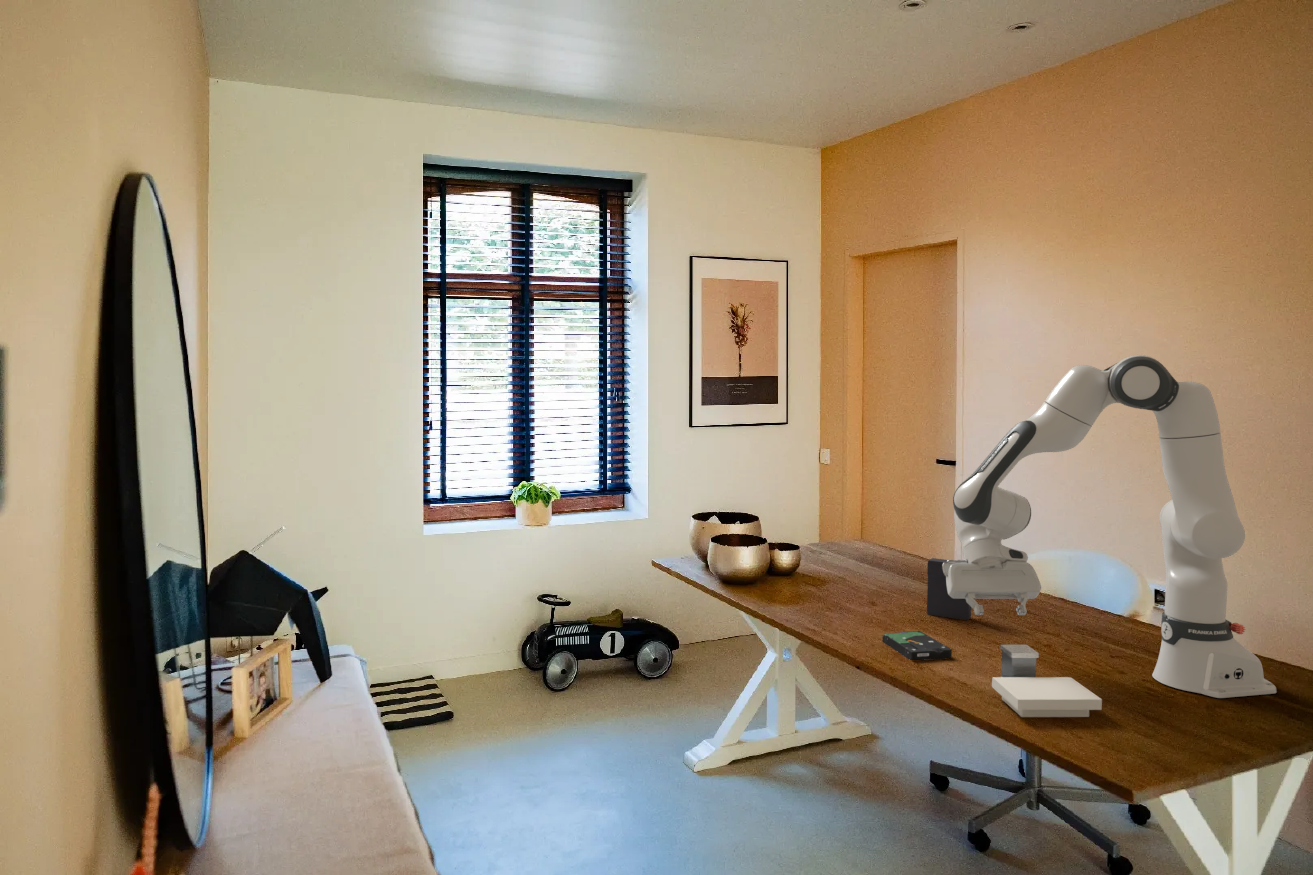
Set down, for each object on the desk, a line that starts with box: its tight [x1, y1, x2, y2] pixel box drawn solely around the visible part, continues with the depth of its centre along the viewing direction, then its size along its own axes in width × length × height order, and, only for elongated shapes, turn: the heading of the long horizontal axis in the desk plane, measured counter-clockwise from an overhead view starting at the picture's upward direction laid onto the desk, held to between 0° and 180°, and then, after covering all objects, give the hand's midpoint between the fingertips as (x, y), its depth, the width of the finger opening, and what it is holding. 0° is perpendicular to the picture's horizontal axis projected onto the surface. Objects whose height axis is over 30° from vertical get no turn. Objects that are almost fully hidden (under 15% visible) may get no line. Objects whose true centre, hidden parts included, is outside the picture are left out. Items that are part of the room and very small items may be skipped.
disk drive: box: [881, 630, 953, 661], centre depth 207 cm, size 10×3×15 cm
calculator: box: [926, 557, 972, 621], centre depth 235 cm, size 11×4×15 cm, turn 58°
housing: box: [999, 644, 1040, 677], centre depth 183 cm, size 6×6×8 cm
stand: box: [991, 676, 1103, 718], centre depth 171 cm, size 16×12×4 cm
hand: (1001, 613), depth 192 cm, fingers open, 8 cm apart
